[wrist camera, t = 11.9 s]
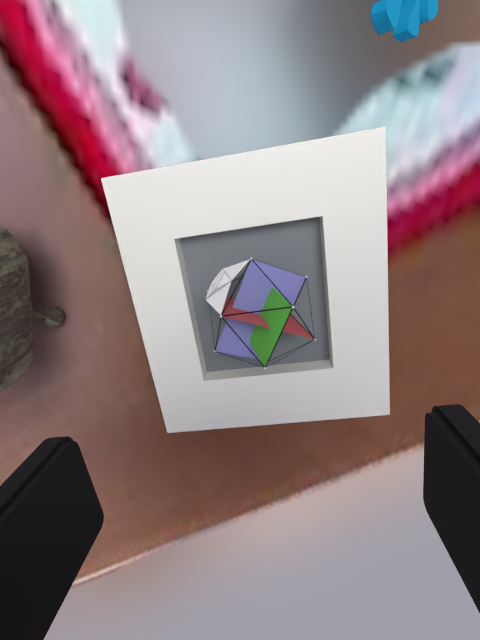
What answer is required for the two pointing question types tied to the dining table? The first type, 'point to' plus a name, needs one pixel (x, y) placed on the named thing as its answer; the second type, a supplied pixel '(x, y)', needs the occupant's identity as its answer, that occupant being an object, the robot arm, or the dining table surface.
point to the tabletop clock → (17, 311)
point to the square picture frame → (271, 248)
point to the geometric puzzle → (256, 309)
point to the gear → (402, 16)
